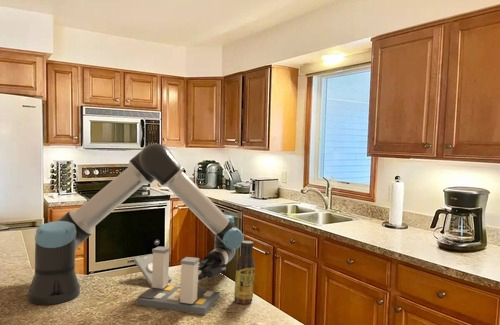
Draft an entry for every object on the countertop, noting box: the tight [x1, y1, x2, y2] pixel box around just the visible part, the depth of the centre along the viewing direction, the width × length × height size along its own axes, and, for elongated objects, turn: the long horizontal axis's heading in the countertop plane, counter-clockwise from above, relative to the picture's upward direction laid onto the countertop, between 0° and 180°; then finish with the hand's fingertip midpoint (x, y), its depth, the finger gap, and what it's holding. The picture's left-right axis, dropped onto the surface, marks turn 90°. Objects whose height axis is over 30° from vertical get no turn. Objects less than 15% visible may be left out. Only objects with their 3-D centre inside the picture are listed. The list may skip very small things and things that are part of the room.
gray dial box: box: [133, 253, 172, 288], centre depth 141 cm, size 8×6×14 cm
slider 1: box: [151, 246, 171, 289], centre depth 127 cm, size 4×4×13 cm
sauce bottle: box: [233, 240, 256, 305], centre depth 123 cm, size 7×6×20 cm
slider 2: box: [180, 256, 200, 304], centre depth 116 cm, size 4×4×13 cm
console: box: [135, 284, 221, 316], centre depth 121 cm, size 23×14×2 cm, turn 77°
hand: (192, 280), depth 118 cm, fingers closed
